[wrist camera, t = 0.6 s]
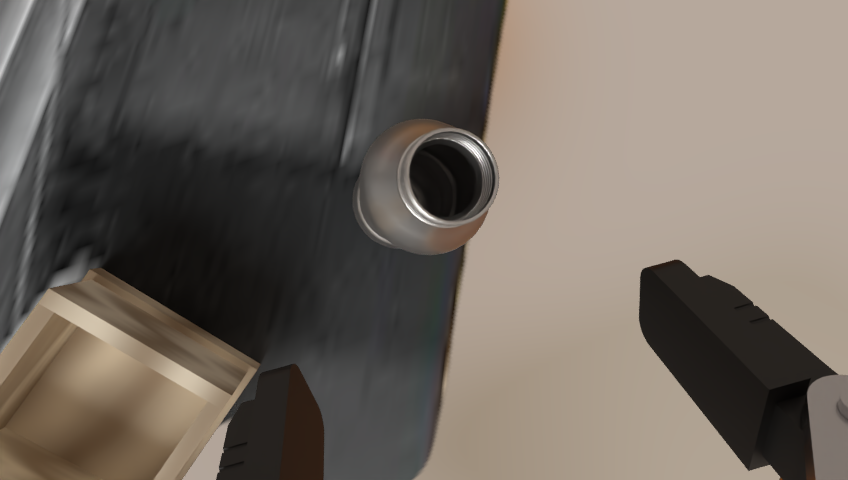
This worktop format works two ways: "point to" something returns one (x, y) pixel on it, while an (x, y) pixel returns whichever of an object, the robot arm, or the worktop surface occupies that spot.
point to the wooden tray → (111, 387)
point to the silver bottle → (425, 187)
